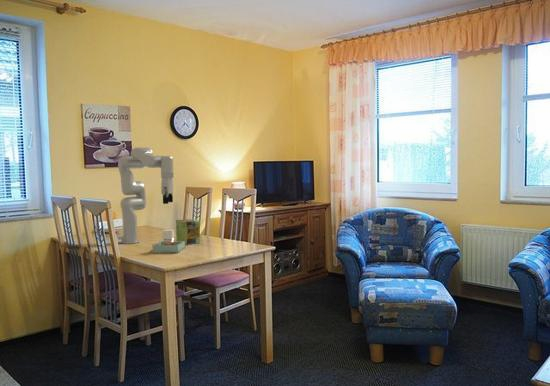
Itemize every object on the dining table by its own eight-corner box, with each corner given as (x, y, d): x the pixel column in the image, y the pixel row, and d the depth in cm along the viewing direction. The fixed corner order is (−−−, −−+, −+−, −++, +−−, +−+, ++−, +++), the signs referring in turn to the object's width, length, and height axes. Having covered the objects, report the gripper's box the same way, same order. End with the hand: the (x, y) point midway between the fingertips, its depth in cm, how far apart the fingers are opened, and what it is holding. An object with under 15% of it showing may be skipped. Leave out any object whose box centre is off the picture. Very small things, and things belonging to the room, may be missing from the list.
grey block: (162, 238, 294) (162, 230, 294) (165, 237, 300) (165, 229, 300) (171, 238, 293) (171, 231, 293) (174, 237, 300) (174, 229, 299)
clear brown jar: (162, 249, 295) (162, 238, 294) (165, 247, 301) (165, 237, 300) (172, 249, 294) (172, 238, 294) (175, 247, 301) (175, 237, 300)
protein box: (186, 245, 316) (186, 222, 314) (176, 242, 327) (175, 220, 326) (200, 243, 322) (200, 220, 321) (189, 240, 334) (188, 218, 333)
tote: (152, 252, 290) (152, 245, 290) (160, 248, 306) (160, 241, 306) (178, 253, 289) (178, 245, 288) (184, 248, 305) (184, 241, 304)
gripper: (165, 175, 303) (166, 201, 304) (157, 176, 285) (157, 204, 287) (177, 175, 302) (177, 201, 303) (169, 176, 285) (169, 204, 286)
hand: (168, 202), depth 295 cm, fingers open, 9 cm apart
